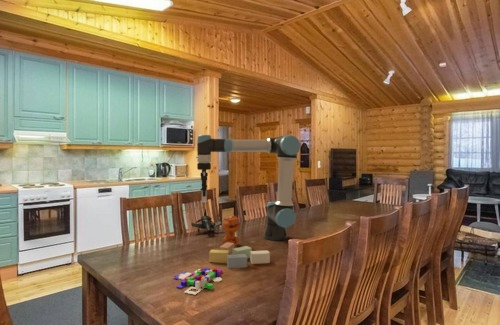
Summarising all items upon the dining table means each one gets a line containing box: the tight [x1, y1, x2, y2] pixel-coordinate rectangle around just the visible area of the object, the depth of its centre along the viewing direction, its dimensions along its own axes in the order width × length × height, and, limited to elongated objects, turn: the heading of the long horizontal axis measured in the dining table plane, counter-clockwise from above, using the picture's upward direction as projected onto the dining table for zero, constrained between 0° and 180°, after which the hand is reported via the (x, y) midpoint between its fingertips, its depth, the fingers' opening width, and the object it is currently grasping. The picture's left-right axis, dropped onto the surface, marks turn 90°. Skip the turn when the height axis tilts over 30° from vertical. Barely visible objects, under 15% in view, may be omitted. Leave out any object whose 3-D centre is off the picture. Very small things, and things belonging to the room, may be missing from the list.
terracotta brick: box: [219, 242, 235, 255], centre depth 167 cm, size 9×4×5 cm, turn 160°
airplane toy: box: [191, 209, 223, 236], centre depth 208 cm, size 20×19×15 cm
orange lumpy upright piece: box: [221, 214, 241, 247], centre depth 182 cm, size 11×11×18 cm
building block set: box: [173, 267, 223, 296], centre depth 132 cm, size 25×20×4 cm
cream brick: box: [249, 250, 271, 265], centre depth 155 cm, size 9×4×5 cm, turn 100°
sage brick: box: [231, 245, 253, 259], centre depth 161 cm, size 9×4×5 cm, turn 126°
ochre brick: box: [208, 249, 229, 264], centre depth 156 cm, size 9×4×5 cm, turn 84°
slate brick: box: [226, 254, 248, 269], centre depth 149 cm, size 9×4×5 cm, turn 100°
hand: (203, 200), depth 175 cm, fingers open, 13 cm apart
